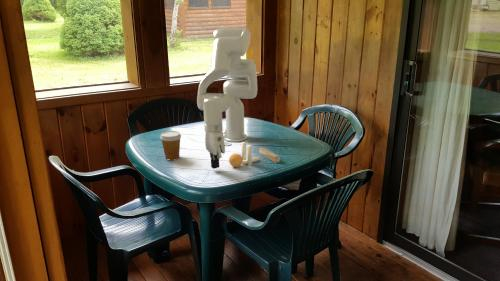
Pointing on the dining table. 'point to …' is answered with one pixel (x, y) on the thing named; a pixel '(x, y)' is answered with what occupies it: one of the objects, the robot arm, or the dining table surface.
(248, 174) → the dining table surface
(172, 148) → the disposable coffee cup
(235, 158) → the ball
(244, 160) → the front pin
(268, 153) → the back wall
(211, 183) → the dining table surface
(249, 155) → the back right pin
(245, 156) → the back left pin
